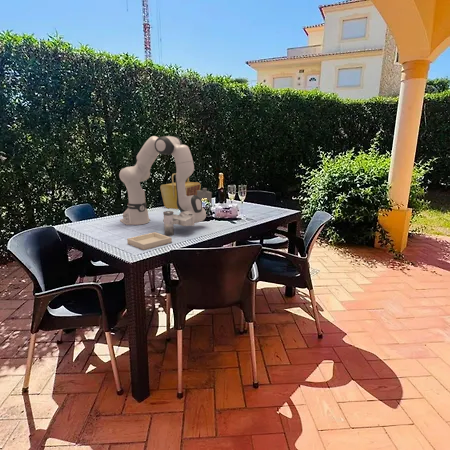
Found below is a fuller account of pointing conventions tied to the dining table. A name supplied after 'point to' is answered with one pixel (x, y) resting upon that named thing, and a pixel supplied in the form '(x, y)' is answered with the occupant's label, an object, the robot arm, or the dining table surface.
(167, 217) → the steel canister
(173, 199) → the picnic basket
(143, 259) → the dining table surface
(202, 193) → the hip flask
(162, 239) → the sand tray
